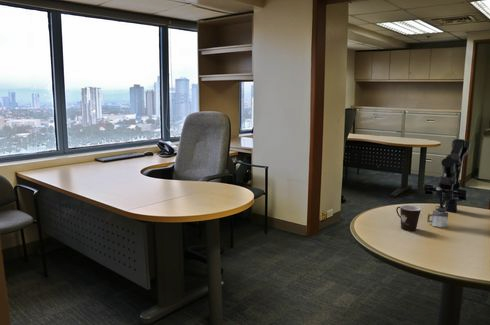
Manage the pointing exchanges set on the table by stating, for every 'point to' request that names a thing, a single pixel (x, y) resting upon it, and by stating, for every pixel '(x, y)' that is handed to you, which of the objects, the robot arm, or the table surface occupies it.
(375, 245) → the table surface
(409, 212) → the coffee mug
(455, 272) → the table surface
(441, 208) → the plunger
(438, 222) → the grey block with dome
